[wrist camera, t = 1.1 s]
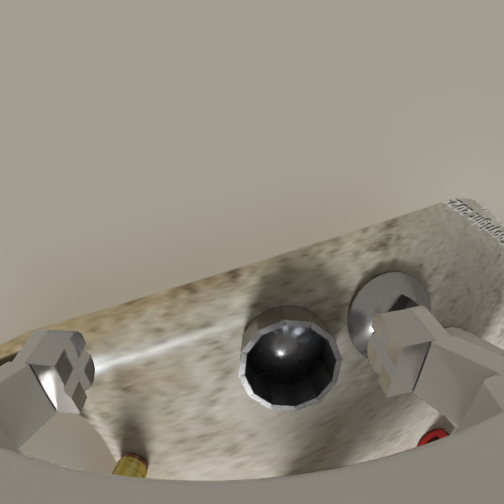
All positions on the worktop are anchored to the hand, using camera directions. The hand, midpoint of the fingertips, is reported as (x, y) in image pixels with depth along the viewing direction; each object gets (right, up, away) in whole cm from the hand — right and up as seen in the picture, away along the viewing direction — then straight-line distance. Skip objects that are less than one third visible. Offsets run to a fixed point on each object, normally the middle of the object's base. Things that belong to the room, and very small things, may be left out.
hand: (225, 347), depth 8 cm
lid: (+23, -8, +42) cm, 48 cm away
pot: (+6, -13, +42) cm, 44 cm away
